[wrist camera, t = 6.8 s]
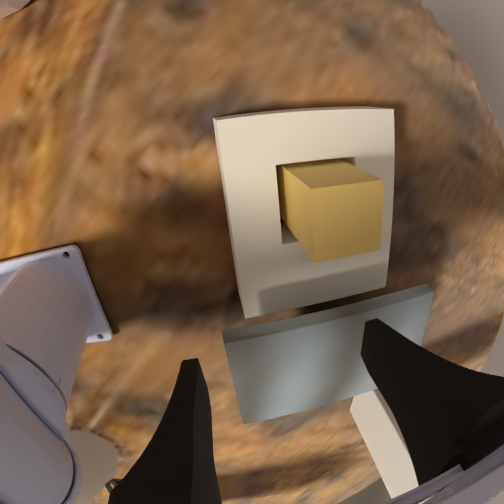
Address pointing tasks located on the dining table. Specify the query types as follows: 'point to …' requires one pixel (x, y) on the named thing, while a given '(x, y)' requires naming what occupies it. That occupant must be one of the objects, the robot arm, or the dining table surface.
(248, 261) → the socket
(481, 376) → the robot arm
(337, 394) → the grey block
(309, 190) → the peg
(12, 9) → the white cup
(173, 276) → the dining table surface
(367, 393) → the milk carton
